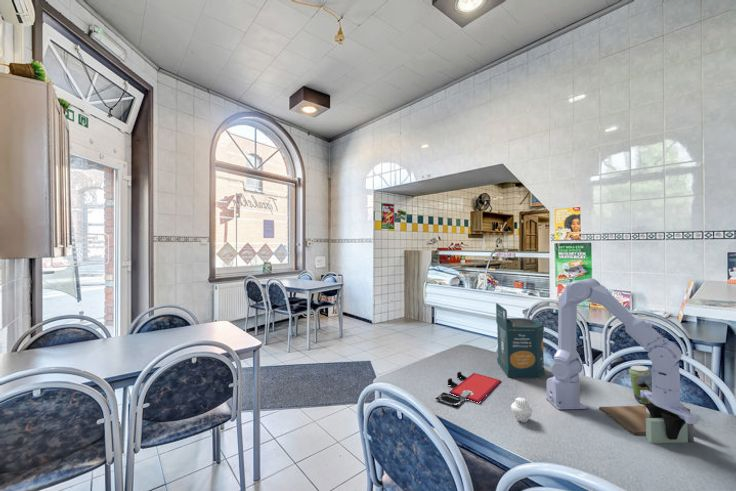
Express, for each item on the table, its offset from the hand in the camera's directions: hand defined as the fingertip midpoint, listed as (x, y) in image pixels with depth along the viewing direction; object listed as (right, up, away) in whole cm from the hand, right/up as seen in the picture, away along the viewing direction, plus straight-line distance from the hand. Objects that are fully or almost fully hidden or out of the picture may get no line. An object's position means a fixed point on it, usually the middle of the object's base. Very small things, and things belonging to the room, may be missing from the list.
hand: (666, 435), depth 88 cm
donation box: (-16, -2, +50) cm, 53 cm away
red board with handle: (-45, -3, +33) cm, 56 cm away
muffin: (-34, -3, +12) cm, 37 cm away
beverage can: (+12, -1, +21) cm, 24 cm away
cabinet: (+2, -2, +10) cm, 10 cm away
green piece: (0, -2, 0) cm, 2 cm away
